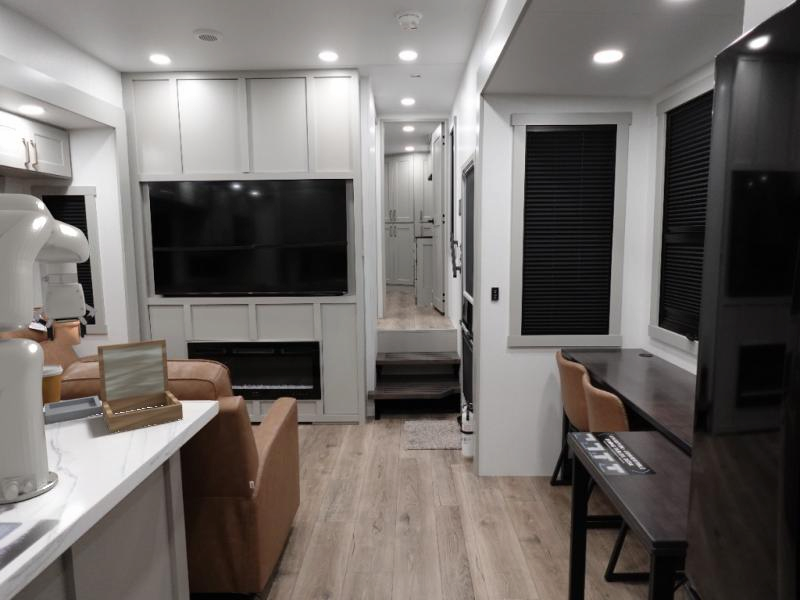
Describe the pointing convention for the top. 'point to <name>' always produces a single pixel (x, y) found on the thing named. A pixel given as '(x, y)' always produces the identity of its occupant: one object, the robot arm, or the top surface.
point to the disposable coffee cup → (51, 383)
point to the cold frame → (136, 385)
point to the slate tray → (72, 409)
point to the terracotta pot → (66, 332)
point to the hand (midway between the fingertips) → (67, 338)
